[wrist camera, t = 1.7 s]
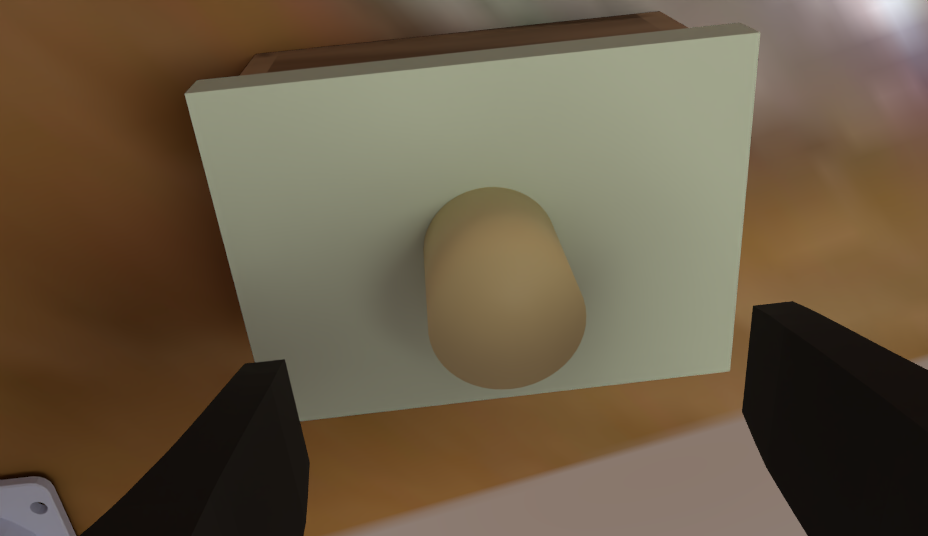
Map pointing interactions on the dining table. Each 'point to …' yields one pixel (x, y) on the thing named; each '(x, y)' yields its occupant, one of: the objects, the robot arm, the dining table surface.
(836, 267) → the dining table surface
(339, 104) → the lid
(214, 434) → the robot arm
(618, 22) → the box
